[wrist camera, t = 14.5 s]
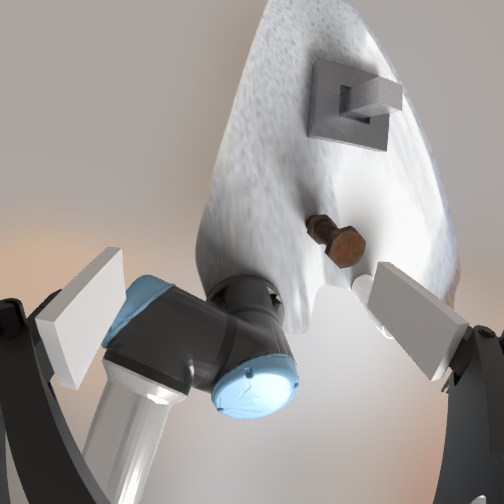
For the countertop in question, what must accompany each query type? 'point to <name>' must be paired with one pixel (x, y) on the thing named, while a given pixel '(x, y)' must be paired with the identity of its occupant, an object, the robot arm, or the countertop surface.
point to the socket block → (327, 109)
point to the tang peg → (371, 99)
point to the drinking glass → (362, 293)
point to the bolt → (337, 240)
